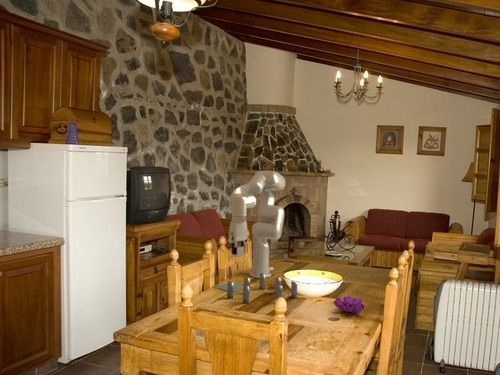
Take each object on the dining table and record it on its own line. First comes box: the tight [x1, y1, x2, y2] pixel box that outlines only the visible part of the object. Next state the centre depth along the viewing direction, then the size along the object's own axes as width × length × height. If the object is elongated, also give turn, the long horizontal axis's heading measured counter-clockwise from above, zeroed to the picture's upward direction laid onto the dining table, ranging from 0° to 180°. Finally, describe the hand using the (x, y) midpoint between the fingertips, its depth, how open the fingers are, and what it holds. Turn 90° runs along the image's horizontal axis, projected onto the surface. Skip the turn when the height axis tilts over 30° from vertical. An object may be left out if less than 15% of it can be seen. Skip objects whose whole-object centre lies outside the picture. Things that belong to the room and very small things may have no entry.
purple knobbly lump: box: [333, 295, 366, 314], centre depth 212 cm, size 11×15×10 cm
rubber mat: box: [213, 282, 251, 294], centre depth 247 cm, size 14×14×1 cm
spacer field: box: [226, 273, 298, 305], centre depth 230 cm, size 27×24×8 cm
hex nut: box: [232, 244, 245, 258], centre depth 243 cm, size 6×6×5 cm
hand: (238, 253), depth 243 cm, fingers closed on hex nut, 5 cm apart
